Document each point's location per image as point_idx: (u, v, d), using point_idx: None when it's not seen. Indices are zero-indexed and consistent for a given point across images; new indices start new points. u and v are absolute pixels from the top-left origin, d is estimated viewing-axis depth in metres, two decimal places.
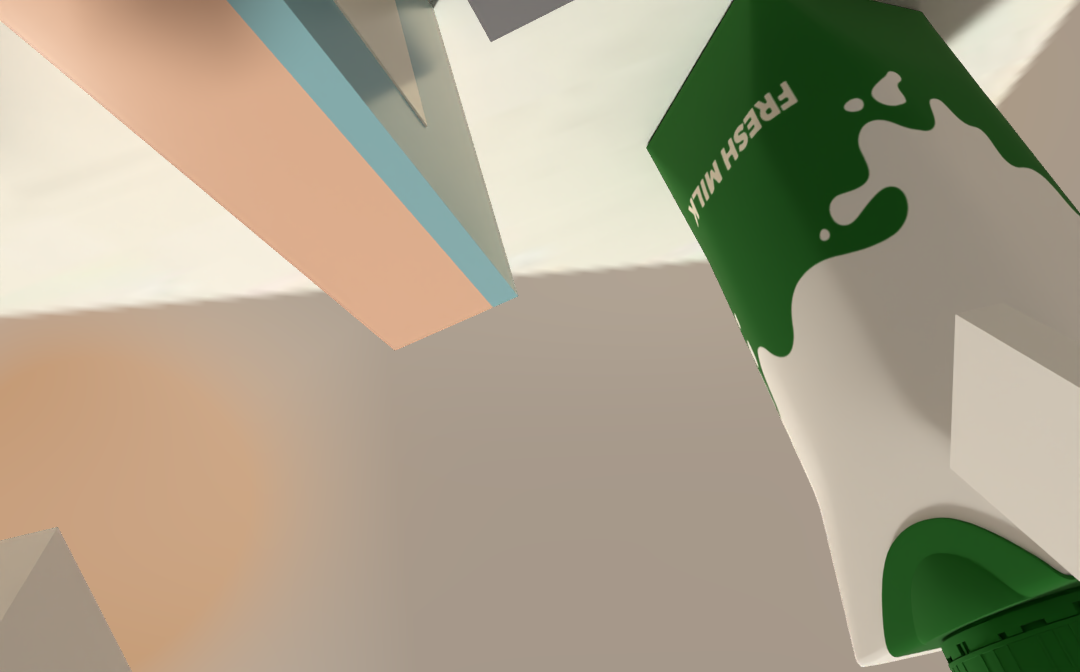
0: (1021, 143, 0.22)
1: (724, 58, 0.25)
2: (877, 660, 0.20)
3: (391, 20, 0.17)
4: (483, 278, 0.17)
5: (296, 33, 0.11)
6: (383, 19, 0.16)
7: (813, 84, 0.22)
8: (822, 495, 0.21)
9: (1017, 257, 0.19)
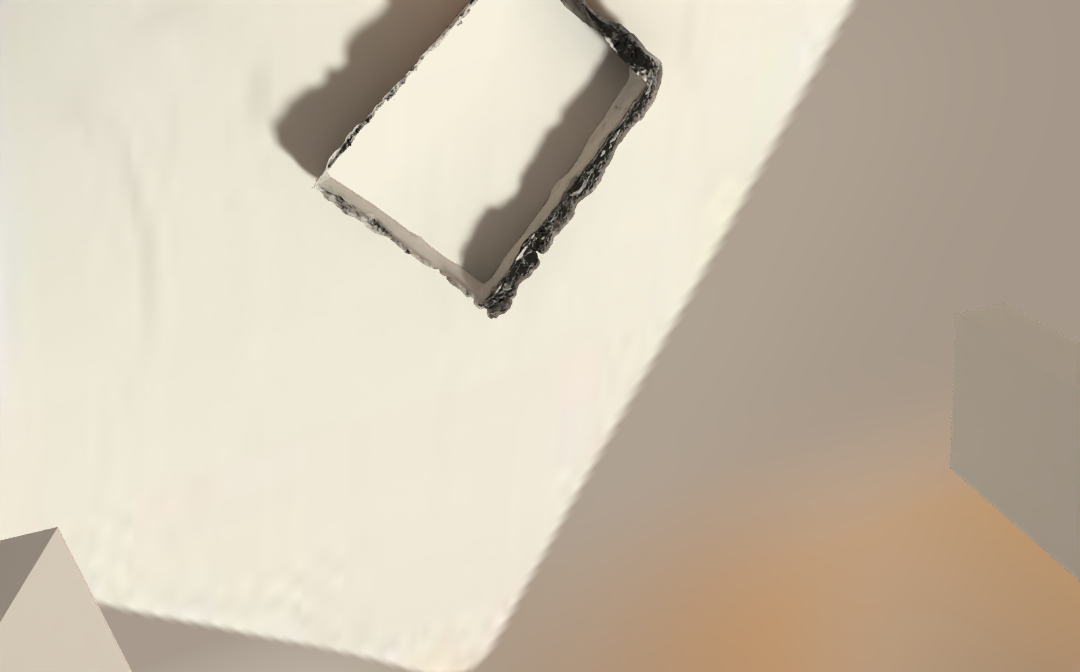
0: None
1: None
2: None
3: None
4: None
5: None
6: None
7: None
8: None
9: None
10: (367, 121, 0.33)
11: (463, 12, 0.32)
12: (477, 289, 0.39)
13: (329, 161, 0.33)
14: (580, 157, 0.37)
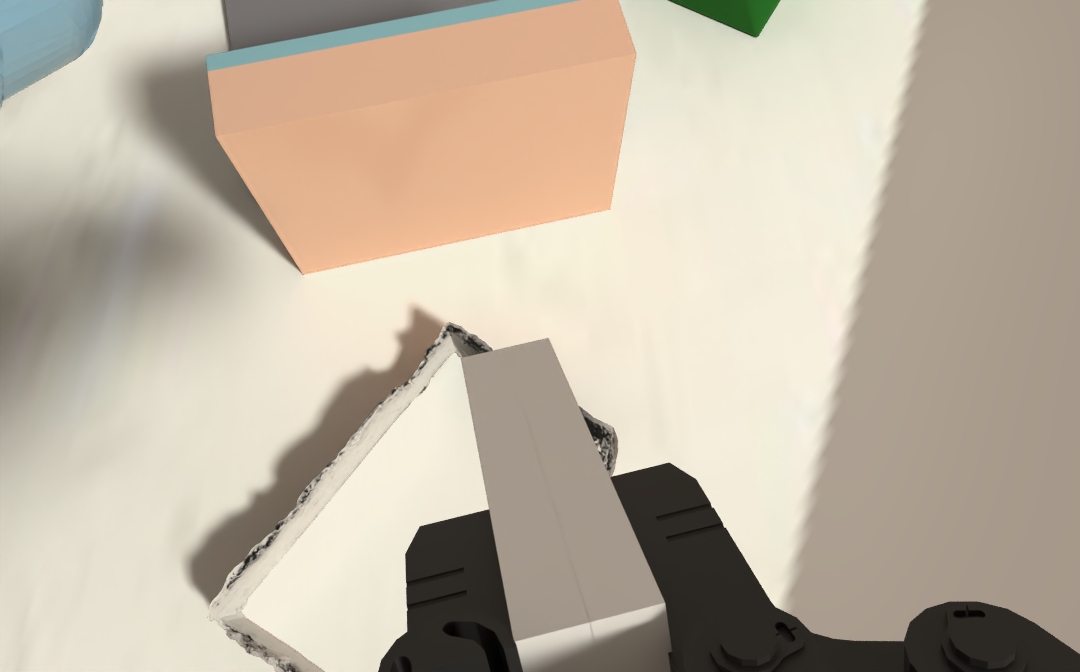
0: None
1: None
2: None
3: None
4: None
5: (373, 27, 0.26)
6: None
7: None
8: None
9: None
10: (277, 528, 0.29)
11: (383, 400, 0.30)
12: None
13: (228, 579, 0.28)
14: None
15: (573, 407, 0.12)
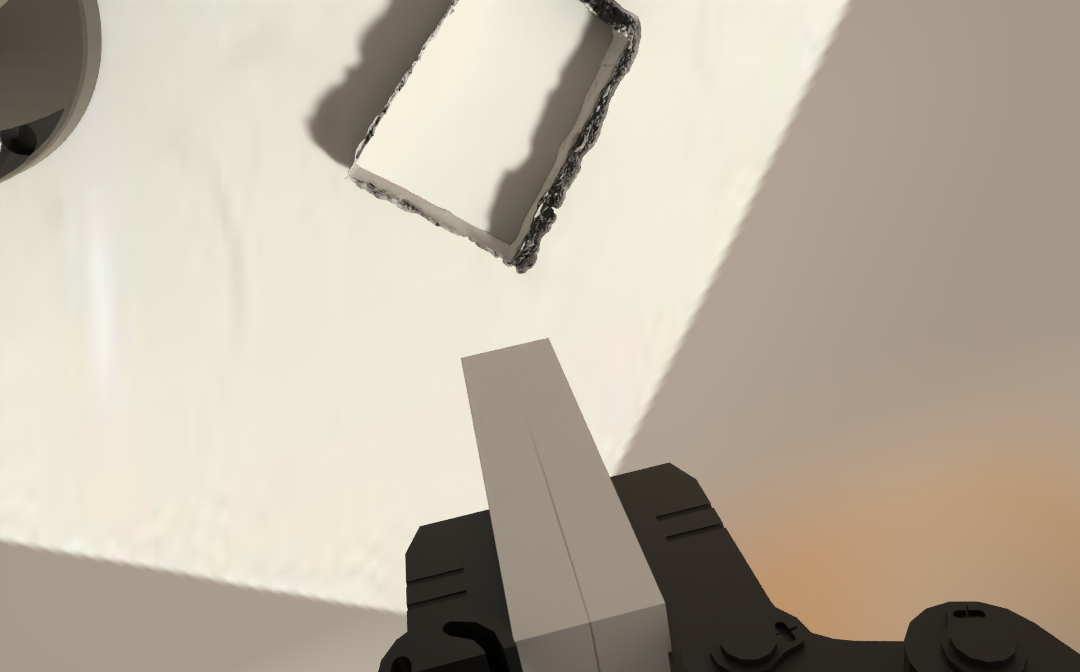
0: None
1: None
2: None
3: None
4: None
5: None
6: None
7: None
8: None
9: None
10: (384, 112, 0.37)
11: (453, 1, 0.36)
12: (504, 250, 0.42)
13: (356, 152, 0.38)
14: (579, 116, 0.41)
15: (573, 407, 0.12)
